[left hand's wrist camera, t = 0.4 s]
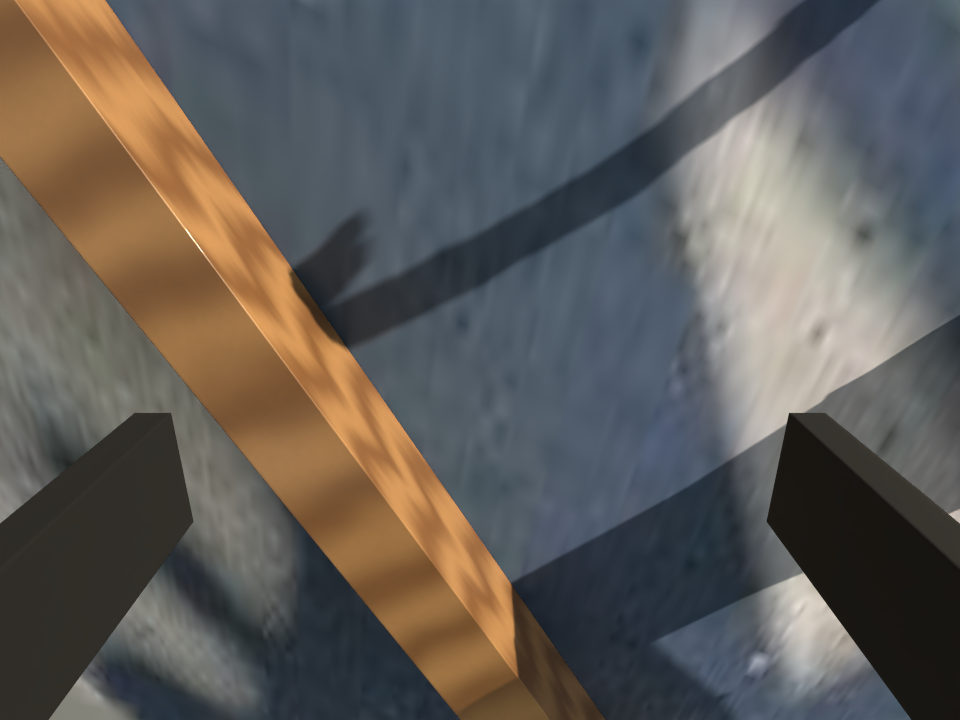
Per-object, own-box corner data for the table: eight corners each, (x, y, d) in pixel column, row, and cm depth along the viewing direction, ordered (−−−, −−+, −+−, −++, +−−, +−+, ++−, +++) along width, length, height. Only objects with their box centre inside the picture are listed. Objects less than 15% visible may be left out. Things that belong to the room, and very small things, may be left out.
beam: (18, 32, 33) (-128, 1, 25) (89, -24, 32) (-39, -73, 24) (586, 785, 55) (603, 895, 47) (638, 766, 54) (665, 875, 46)
